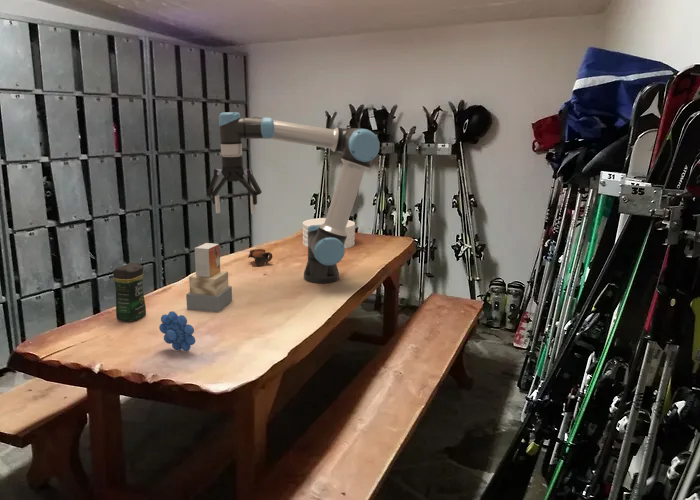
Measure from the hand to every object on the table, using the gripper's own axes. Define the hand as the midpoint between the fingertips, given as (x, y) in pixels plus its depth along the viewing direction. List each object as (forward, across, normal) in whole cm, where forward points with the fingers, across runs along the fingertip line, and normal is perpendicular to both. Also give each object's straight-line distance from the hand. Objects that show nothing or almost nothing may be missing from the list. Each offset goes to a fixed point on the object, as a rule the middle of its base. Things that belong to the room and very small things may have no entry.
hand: (235, 213), depth 202 cm
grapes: (+31, +1, +55) cm, 63 cm away
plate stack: (+33, -21, -87) cm, 95 cm away
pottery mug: (+32, +4, -40) cm, 51 cm away
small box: (+20, +6, +16) cm, 26 cm away
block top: (+25, +6, +16) cm, 30 cm away
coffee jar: (+30, +28, +32) cm, 52 cm away
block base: (+31, +6, +16) cm, 36 cm away
